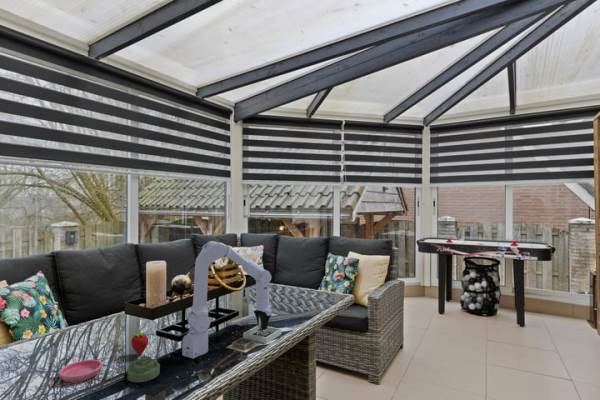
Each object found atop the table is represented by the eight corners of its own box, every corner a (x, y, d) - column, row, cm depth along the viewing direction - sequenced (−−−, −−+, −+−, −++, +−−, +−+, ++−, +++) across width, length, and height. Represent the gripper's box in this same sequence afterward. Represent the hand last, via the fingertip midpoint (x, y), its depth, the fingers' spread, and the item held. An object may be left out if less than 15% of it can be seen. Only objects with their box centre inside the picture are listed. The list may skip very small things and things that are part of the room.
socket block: (245, 354, 131) (245, 348, 131) (225, 349, 135) (226, 343, 135) (260, 345, 139) (260, 339, 139) (241, 340, 144) (241, 335, 144)
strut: (268, 334, 147) (268, 316, 147) (260, 337, 144) (260, 318, 145) (263, 332, 150) (263, 314, 151) (255, 334, 148) (255, 316, 148)
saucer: (109, 368, 120) (110, 359, 120) (86, 386, 108) (86, 376, 108) (76, 367, 121) (76, 358, 121) (49, 385, 108) (49, 375, 108)
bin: (266, 345, 139) (266, 338, 139) (243, 340, 145) (243, 333, 145) (281, 335, 150) (281, 329, 150) (259, 331, 156) (259, 324, 156)
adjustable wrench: (229, 326, 163) (229, 323, 163) (222, 323, 168) (222, 320, 168) (270, 315, 180) (270, 311, 180) (262, 312, 185) (262, 309, 185)
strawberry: (135, 360, 126) (135, 333, 126) (128, 354, 131) (128, 328, 131) (151, 355, 130) (151, 329, 130) (143, 350, 135) (143, 325, 135)
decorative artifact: (161, 378, 113) (158, 366, 122) (161, 357, 113) (158, 346, 122) (127, 385, 108) (127, 372, 117) (128, 363, 108) (127, 352, 117)
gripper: (278, 299, 144) (278, 331, 143) (263, 292, 156) (263, 321, 156) (263, 301, 140) (263, 334, 140) (249, 294, 153) (249, 324, 152)
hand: (262, 327), depth 148 cm, fingers closed on strut, 3 cm apart
